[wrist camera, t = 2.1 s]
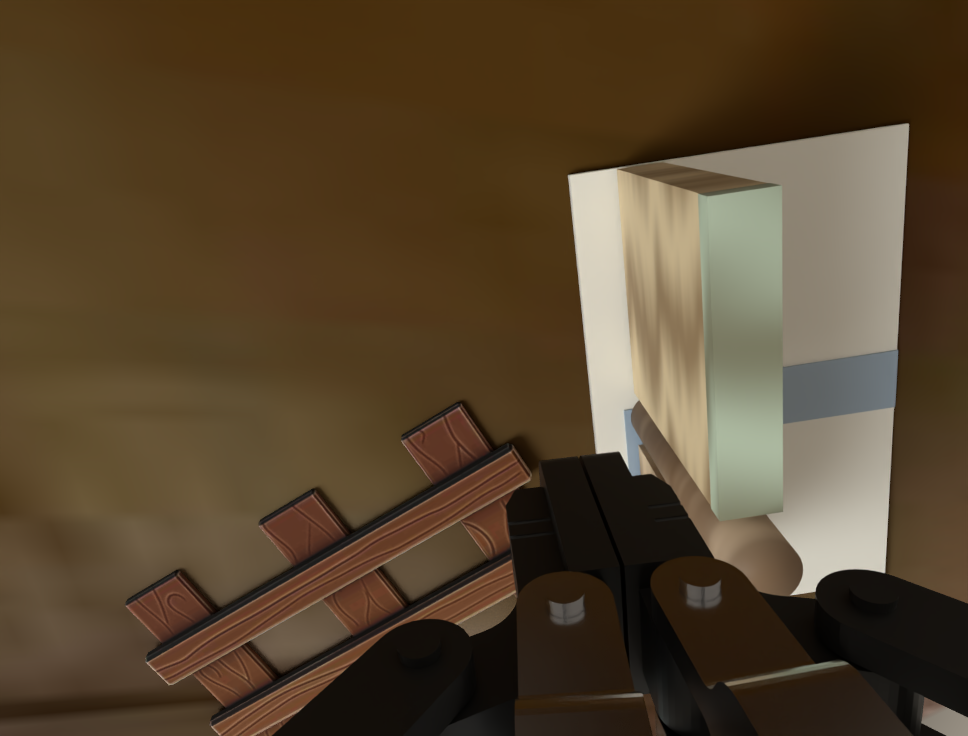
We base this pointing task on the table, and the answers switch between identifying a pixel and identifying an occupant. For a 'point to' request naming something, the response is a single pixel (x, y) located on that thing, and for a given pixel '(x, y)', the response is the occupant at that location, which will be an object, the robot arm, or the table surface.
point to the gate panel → (709, 326)
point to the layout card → (789, 330)
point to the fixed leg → (731, 541)
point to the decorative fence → (340, 580)
